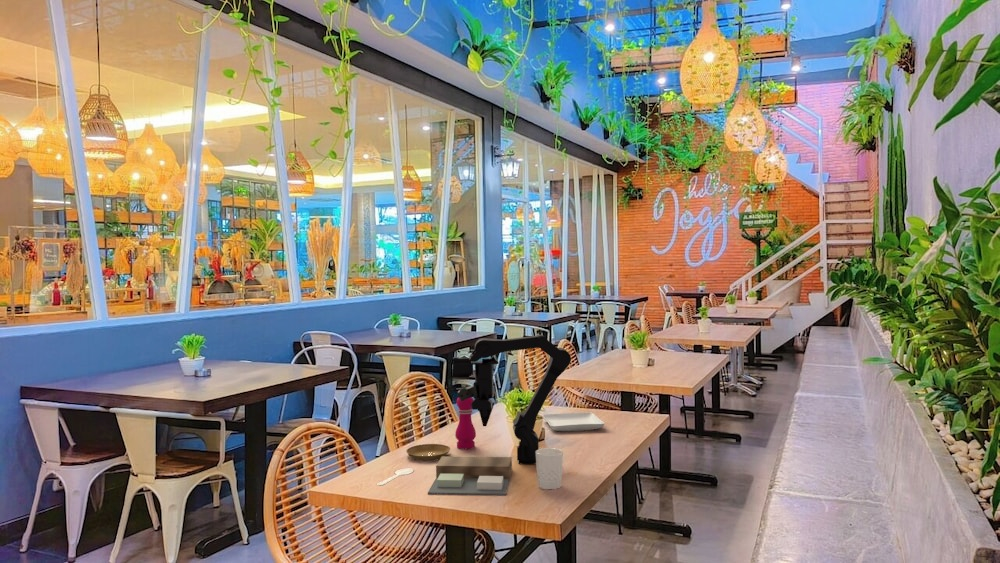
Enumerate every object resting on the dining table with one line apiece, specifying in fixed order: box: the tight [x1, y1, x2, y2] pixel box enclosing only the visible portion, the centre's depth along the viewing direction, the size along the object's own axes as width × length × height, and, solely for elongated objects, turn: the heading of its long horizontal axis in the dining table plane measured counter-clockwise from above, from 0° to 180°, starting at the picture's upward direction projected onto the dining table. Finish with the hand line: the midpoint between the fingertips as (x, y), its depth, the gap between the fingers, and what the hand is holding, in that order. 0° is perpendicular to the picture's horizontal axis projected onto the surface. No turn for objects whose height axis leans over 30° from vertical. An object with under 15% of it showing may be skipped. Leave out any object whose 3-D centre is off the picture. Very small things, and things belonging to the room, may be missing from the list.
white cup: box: [535, 447, 564, 490], centre depth 197 cm, size 8×8×10 cm
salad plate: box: [541, 412, 605, 432], centre depth 269 cm, size 21×21×3 cm
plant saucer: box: [406, 443, 451, 462], centre depth 230 cm, size 15×15×3 cm
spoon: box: [376, 467, 415, 486], centre depth 208 cm, size 5×18×1 cm, turn 156°
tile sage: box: [437, 474, 464, 487], centre depth 199 cm, size 7×6×2 cm
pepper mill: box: [454, 396, 477, 450], centre depth 240 cm, size 7×7×20 cm
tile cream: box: [477, 476, 503, 490], centre depth 196 cm, size 7×6×2 cm
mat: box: [427, 477, 510, 496], centre depth 197 cm, size 22×13×1 cm, turn 85°
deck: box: [435, 455, 513, 481], centre depth 209 cm, size 22×10×4 cm, turn 85°
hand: (484, 426), depth 221 cm, fingers closed
